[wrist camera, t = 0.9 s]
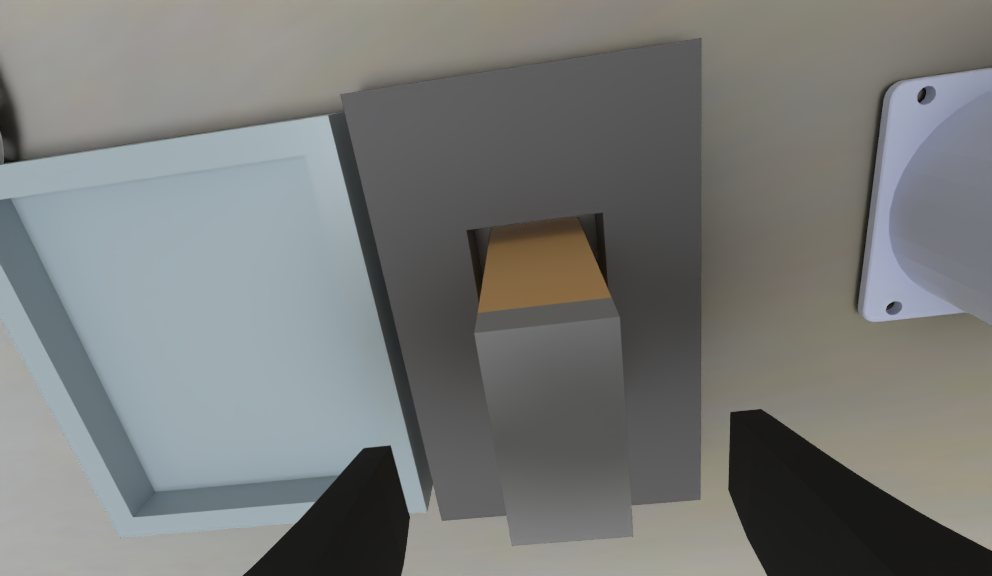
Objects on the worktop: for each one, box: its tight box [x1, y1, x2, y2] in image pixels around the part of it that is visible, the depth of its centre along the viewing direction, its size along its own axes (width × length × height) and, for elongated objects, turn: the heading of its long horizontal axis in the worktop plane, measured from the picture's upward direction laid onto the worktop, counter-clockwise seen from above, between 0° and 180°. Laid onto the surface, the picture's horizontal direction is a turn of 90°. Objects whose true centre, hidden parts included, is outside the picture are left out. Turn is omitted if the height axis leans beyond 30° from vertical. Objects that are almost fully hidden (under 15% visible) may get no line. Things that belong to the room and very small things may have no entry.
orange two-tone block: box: [474, 217, 633, 546], centre depth 16 cm, size 3×6×8 cm, turn 8°
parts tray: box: [0, 111, 433, 538], centre depth 19 cm, size 13×15×2 cm
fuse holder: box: [340, 38, 701, 521], centre depth 18 cm, size 10×16×2 cm, turn 8°
